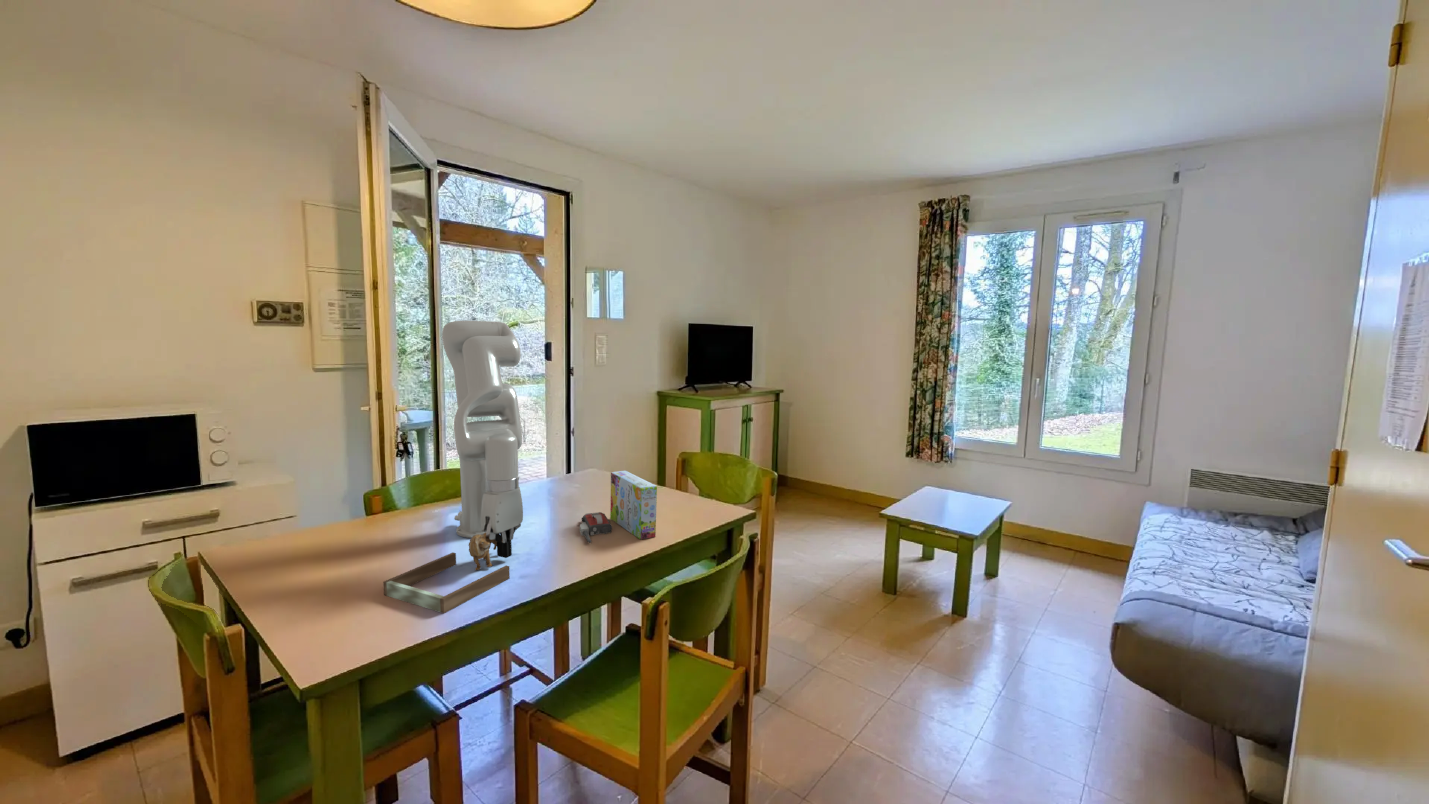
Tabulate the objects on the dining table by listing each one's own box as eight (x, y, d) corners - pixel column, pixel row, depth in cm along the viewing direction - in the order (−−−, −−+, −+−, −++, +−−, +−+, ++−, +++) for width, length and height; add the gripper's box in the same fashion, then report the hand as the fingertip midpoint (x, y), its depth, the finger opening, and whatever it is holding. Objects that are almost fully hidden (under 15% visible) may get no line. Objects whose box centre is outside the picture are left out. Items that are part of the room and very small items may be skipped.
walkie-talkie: (574, 523, 168) (585, 547, 149) (574, 509, 167) (585, 531, 149) (603, 520, 171) (617, 543, 153) (603, 506, 170) (617, 527, 152)
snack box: (657, 537, 157) (658, 485, 155) (639, 540, 154) (640, 488, 152) (625, 515, 174) (625, 469, 173) (608, 518, 171) (608, 471, 169)
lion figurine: (494, 571, 130) (486, 535, 129) (470, 577, 129) (462, 540, 128) (505, 548, 144) (497, 516, 143) (483, 553, 143) (476, 520, 142)
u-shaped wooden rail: (383, 594, 119) (383, 581, 119) (453, 564, 136) (452, 552, 135) (444, 613, 112) (443, 599, 112) (509, 578, 129) (509, 566, 128)
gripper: (512, 476, 145) (514, 543, 147) (466, 490, 131) (469, 564, 133) (535, 479, 142) (536, 548, 144) (491, 493, 128) (493, 569, 130)
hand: (504, 555), depth 138 cm, fingers closed
